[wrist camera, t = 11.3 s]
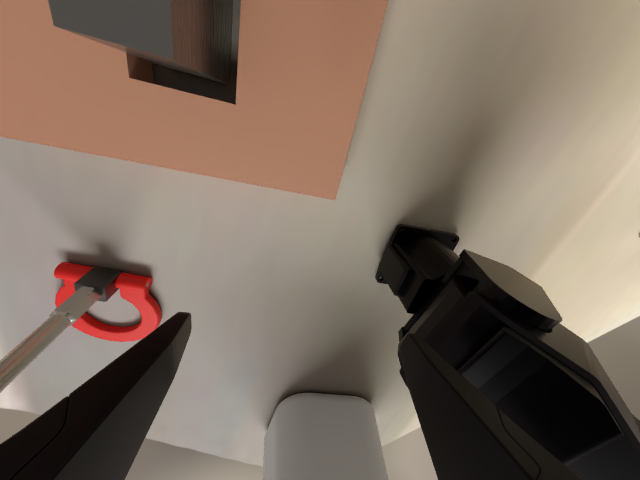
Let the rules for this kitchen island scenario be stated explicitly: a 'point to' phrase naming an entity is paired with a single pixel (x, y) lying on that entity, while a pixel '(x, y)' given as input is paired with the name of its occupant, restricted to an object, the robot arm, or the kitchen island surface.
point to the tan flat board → (196, 110)
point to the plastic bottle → (323, 440)
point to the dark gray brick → (157, 31)
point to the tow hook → (71, 310)
